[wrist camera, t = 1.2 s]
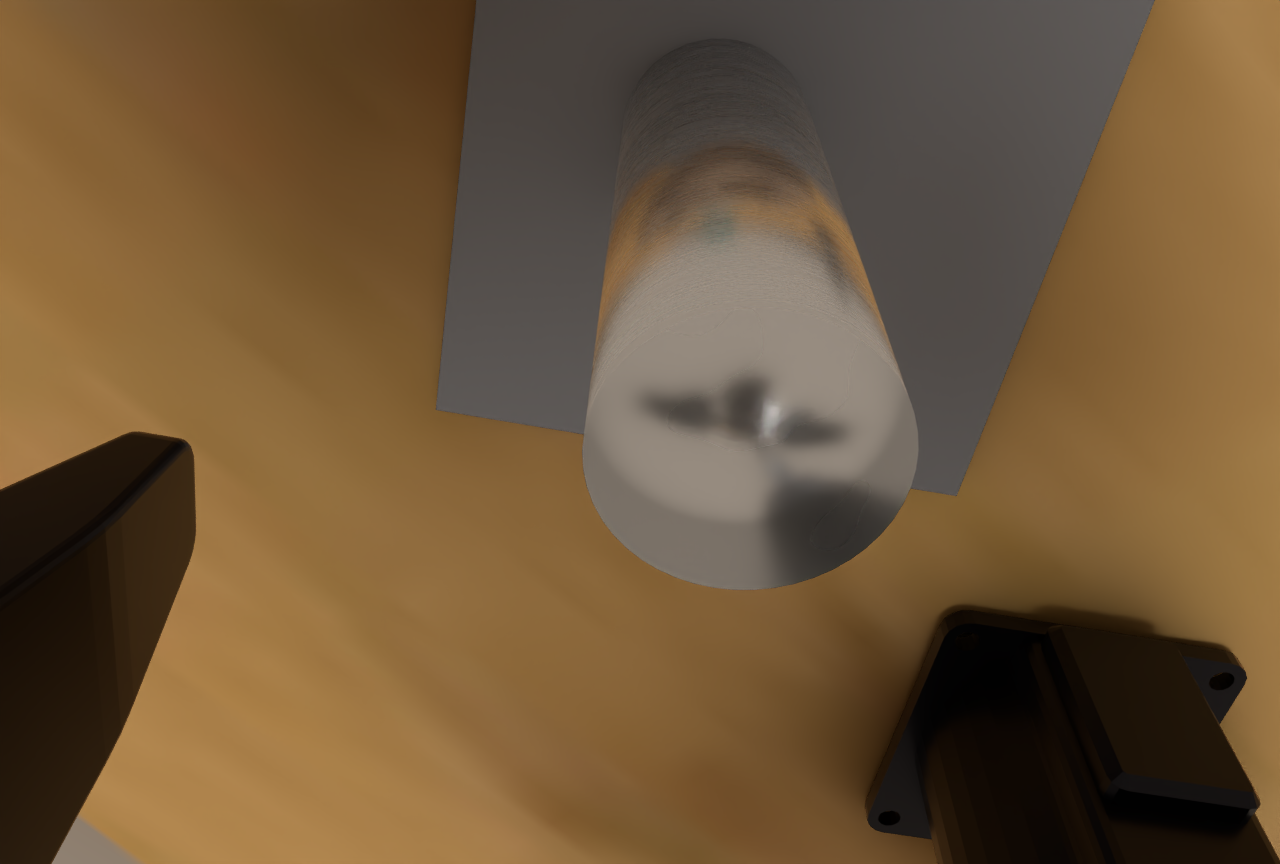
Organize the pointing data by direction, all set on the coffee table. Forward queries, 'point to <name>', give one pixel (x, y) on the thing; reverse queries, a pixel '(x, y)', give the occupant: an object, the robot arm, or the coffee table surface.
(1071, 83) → the mat
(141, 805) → the coffee table surface
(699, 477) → the pin
